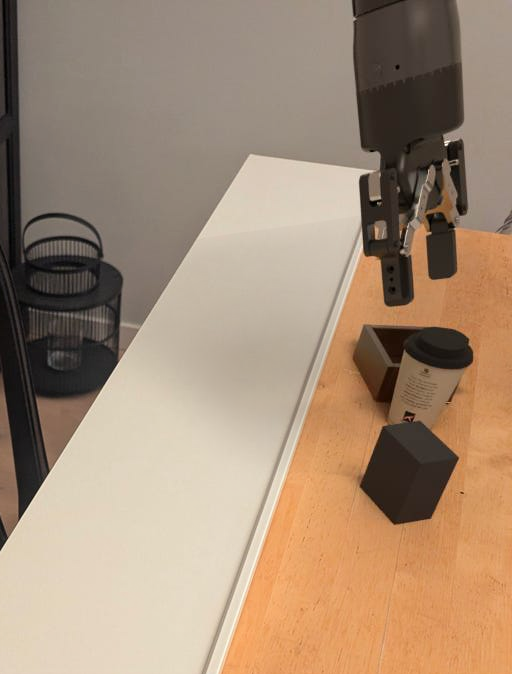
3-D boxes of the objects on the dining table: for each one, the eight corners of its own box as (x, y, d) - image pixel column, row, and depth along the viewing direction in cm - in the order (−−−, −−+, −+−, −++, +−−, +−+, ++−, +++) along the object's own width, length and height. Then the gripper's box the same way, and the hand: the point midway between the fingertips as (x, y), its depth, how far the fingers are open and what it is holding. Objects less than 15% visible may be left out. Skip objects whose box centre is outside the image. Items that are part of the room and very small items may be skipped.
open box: (422, 360, 109) (436, 326, 106) (450, 404, 102) (465, 369, 99) (352, 358, 108) (363, 323, 105) (375, 401, 102) (387, 366, 99)
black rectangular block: (389, 495, 89) (420, 420, 83) (424, 533, 86) (459, 457, 79) (353, 501, 89) (382, 425, 82) (387, 539, 85) (420, 463, 78)
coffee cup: (405, 447, 96) (440, 360, 88) (363, 413, 100) (393, 327, 93) (455, 434, 98) (494, 348, 91) (412, 401, 102) (446, 317, 95)
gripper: (415, 71, 63) (431, 310, 70) (495, 46, 71) (501, 263, 78) (316, 99, 68) (339, 319, 75) (400, 74, 76) (414, 275, 83)
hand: (422, 290), depth 77 cm, fingers open, 8 cm apart
